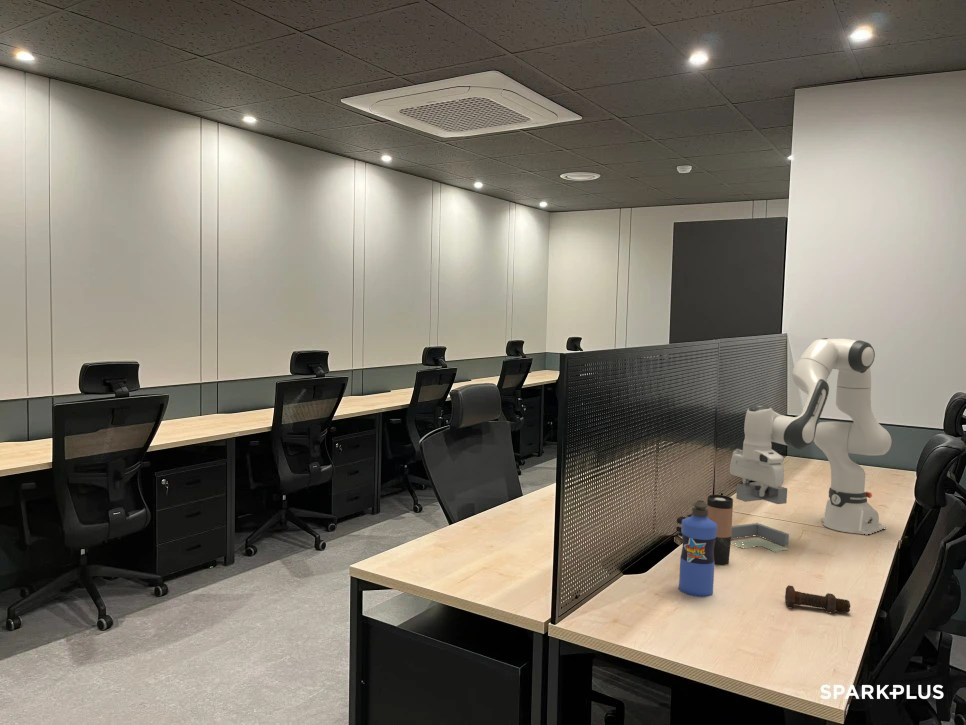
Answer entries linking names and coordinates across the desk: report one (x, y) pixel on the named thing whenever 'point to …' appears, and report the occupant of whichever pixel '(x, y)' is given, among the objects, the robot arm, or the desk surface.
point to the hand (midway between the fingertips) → (754, 493)
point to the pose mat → (759, 544)
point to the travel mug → (721, 525)
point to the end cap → (679, 520)
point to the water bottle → (697, 552)
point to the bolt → (815, 600)
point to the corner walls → (760, 533)
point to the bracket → (771, 493)
